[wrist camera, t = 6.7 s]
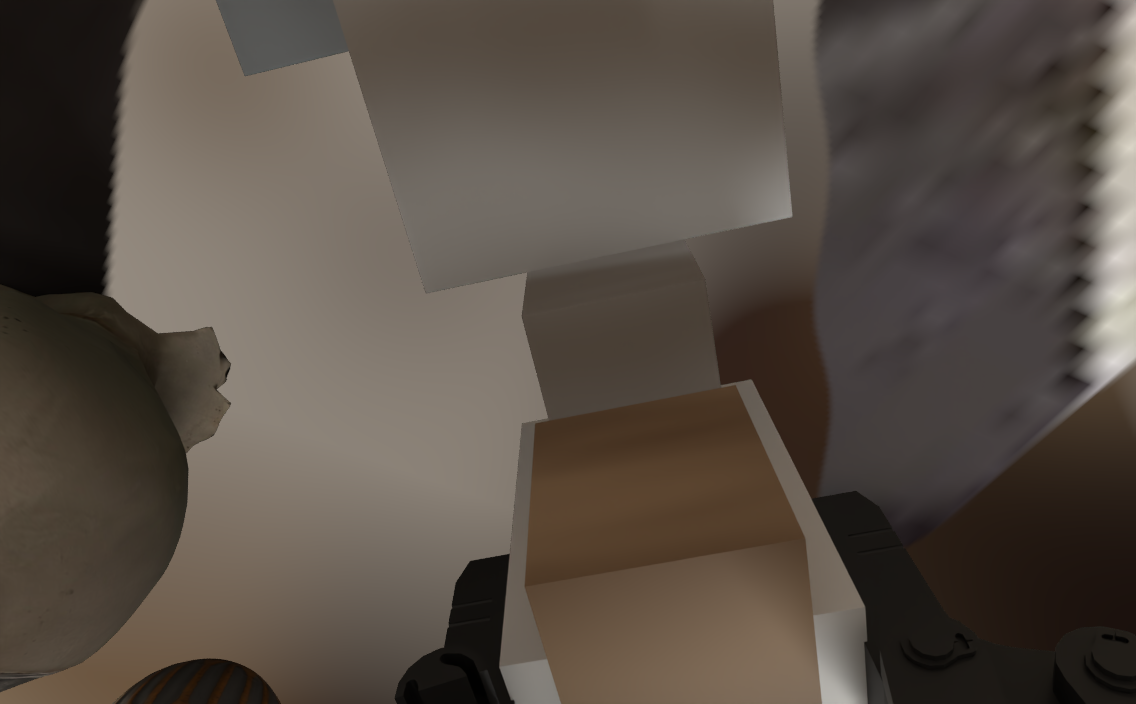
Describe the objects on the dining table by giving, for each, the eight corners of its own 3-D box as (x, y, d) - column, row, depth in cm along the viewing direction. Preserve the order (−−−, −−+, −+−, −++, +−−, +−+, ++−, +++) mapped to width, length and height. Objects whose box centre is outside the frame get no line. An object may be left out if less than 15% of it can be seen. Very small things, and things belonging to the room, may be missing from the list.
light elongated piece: (823, 651, 19) (950, 965, 13) (560, 692, 20) (560, 1013, 14) (739, -233, 11) (957, -528, 5) (308, -121, 12) (26, -259, 6)
